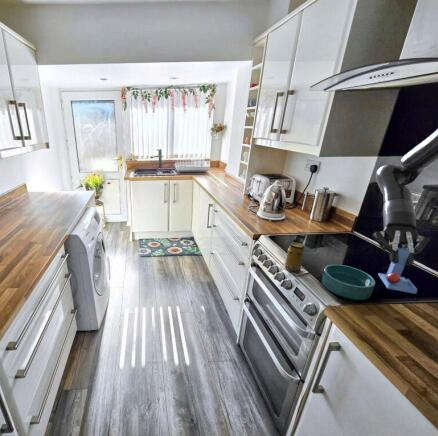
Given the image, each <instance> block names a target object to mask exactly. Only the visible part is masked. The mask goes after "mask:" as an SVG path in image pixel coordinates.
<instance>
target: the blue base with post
mask: <svg viewBox="0 0 438 436" xmlns="http://www.w3.org/2000/svg"><path fill="white" fill-rule="evenodd" d="M397 251H398V257H399V262H398V263H397V264H394V263H392V261H390V264H389V267H388V270H387V272H386V273H381V272H378V274H377V276H378V277H379V278H380V280H381V281H382V283H383V284H384V285H385V287H386V289H388V290H393V291H398V292H404V293H409V294H414V295H416V294H417V293H418V288H417V287H416V286H415V284H413V282H412V281H411V280H410V279H409V278H406V277H405V276H402V273H403V271H404V268H405V266H406V265H405V264H406V261H407V259H408V256H409V254H410V251H409V250H408V249H405V248H403V247H398V249H397ZM390 273H395V274H397V275H399V276H400V278H401V280H400V282H398V283H391V282H389V281H388V280H387V278H386V277H387V275H388V274H390Z"/></svg>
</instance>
